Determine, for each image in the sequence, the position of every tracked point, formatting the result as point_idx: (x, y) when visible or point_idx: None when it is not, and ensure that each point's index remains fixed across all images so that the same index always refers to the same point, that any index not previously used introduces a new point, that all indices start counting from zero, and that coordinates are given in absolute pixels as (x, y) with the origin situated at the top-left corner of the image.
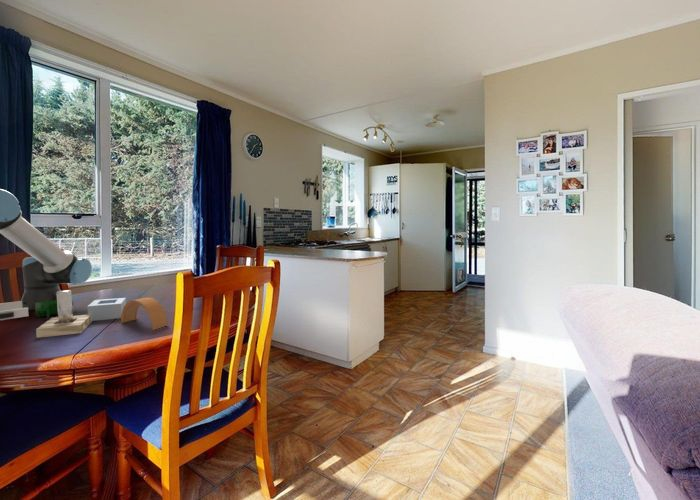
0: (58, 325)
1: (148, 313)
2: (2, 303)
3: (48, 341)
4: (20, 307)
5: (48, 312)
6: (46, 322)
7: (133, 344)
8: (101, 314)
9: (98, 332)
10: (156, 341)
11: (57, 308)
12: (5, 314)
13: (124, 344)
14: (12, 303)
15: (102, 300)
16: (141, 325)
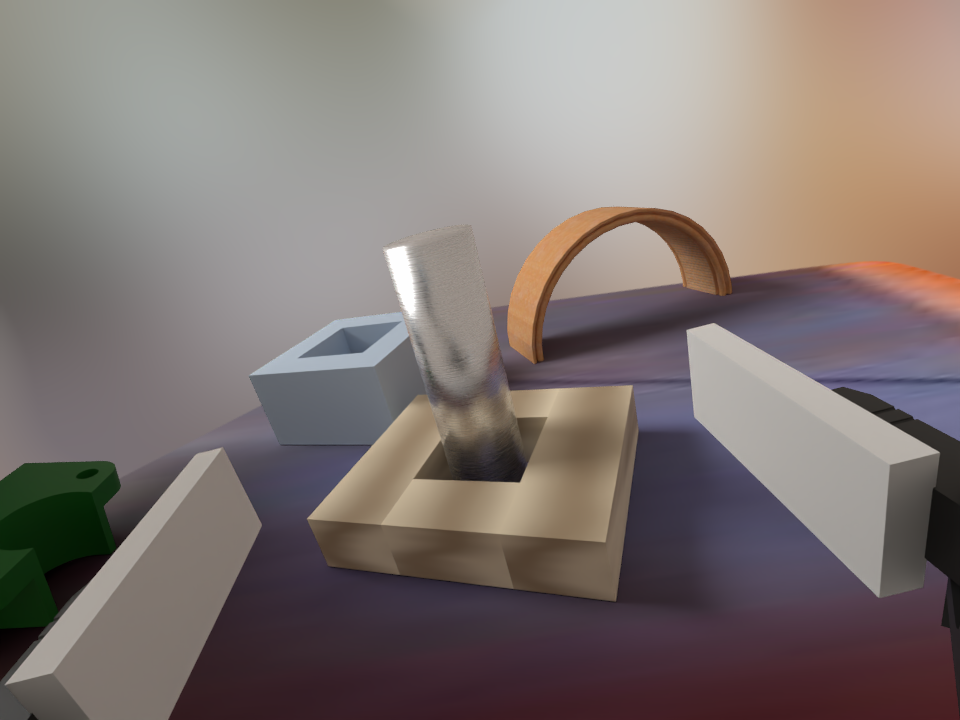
0: (578, 455)
1: (701, 237)
2: (117, 582)
3: (765, 525)
4: (248, 522)
5: (43, 586)
6: (424, 522)
7: (936, 291)
8: (420, 385)
9: (668, 387)
10: (902, 267)
11: (29, 547)
12: (929, 439)
13: (930, 305)
14: (190, 516)
15: (298, 355)
16: (634, 320)
